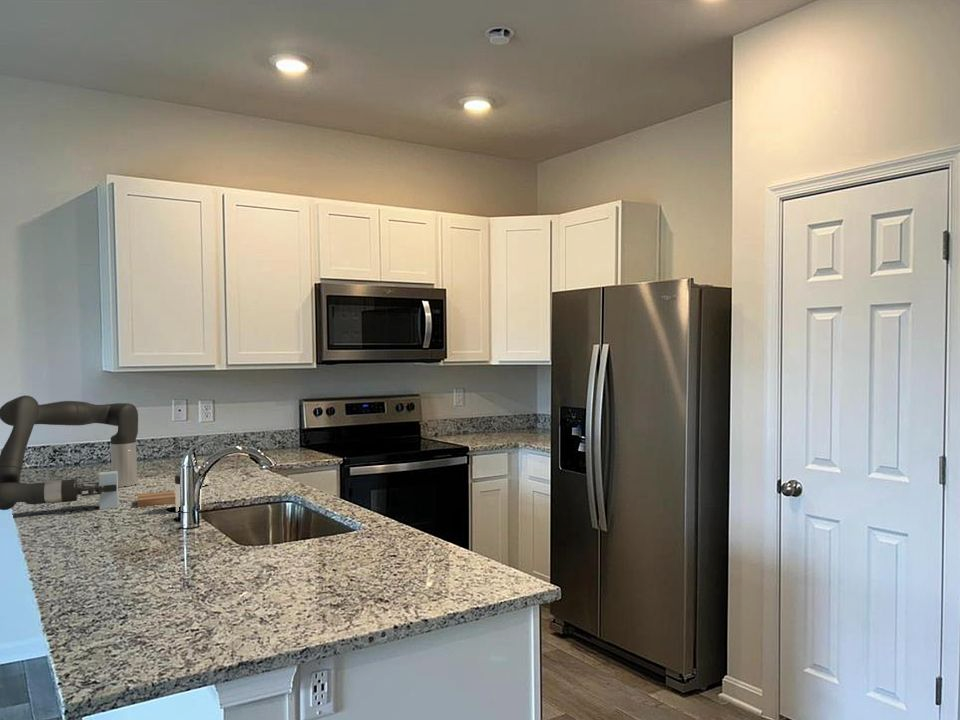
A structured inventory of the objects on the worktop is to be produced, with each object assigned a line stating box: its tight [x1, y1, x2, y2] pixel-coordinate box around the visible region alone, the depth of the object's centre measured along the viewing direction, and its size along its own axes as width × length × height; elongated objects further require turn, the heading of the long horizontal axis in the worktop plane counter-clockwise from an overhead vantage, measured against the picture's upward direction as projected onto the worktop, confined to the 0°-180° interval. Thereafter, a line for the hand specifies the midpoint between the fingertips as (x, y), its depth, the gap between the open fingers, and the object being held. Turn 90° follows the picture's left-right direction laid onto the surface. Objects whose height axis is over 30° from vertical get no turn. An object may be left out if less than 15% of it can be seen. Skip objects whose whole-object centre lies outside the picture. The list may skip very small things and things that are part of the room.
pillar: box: [98, 470, 120, 510], centre depth 249 cm, size 6×6×12 cm
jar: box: [174, 473, 202, 513], centre depth 241 cm, size 9×8×12 cm
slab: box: [137, 490, 176, 508], centre depth 255 cm, size 12×12×3 cm
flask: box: [196, 459, 211, 484], centre depth 285 cm, size 7×7×10 cm
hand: (116, 486), depth 250 cm, fingers closed on pillar, 5 cm apart
